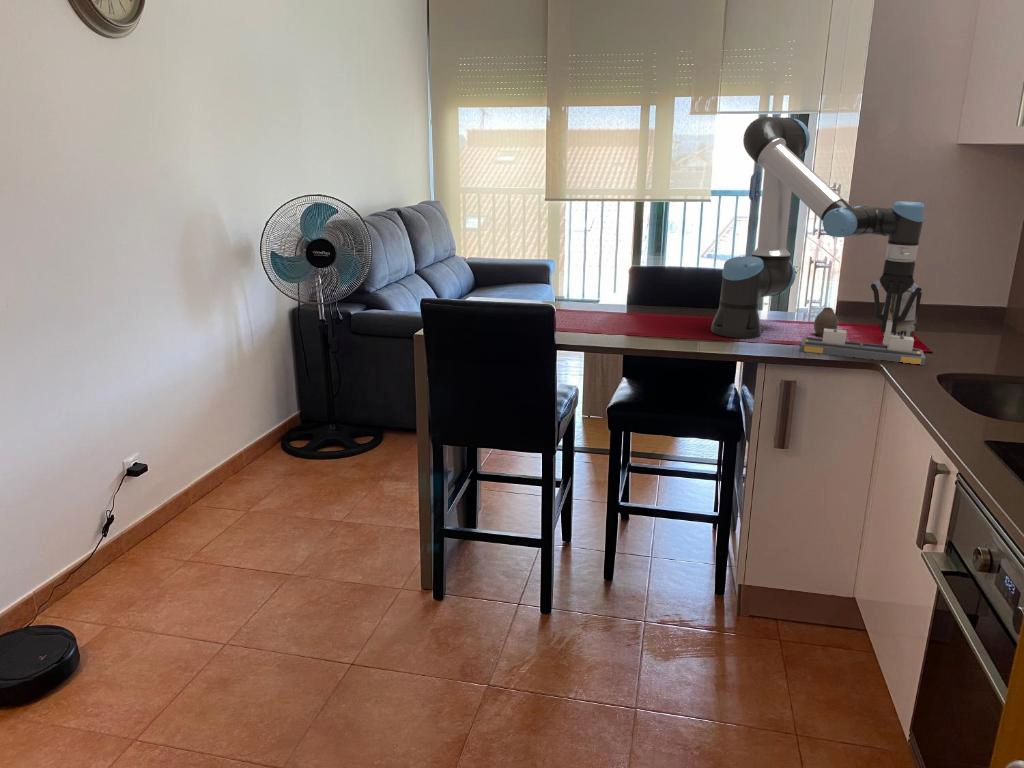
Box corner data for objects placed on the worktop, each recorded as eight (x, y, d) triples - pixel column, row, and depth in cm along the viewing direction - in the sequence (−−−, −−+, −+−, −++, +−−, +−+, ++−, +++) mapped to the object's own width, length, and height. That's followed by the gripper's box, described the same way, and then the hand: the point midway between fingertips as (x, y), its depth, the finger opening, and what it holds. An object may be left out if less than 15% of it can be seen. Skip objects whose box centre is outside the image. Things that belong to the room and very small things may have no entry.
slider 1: (821, 344, 217) (824, 330, 216) (822, 341, 221) (824, 327, 219) (844, 347, 215) (846, 332, 214) (844, 343, 218) (846, 329, 217)
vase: (839, 335, 237) (843, 308, 234) (831, 339, 232) (835, 311, 230) (817, 331, 242) (821, 304, 239) (809, 335, 237) (812, 307, 234)
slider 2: (887, 351, 211) (890, 336, 210) (886, 348, 214) (889, 333, 213) (911, 354, 209) (914, 339, 207) (910, 351, 212) (913, 336, 211)
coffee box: (912, 345, 227) (922, 292, 222) (890, 343, 228) (899, 291, 223) (904, 338, 236) (913, 287, 231) (882, 336, 237) (891, 285, 232)
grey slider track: (800, 351, 217) (801, 342, 216) (801, 343, 226) (803, 335, 225) (924, 365, 205) (926, 356, 204) (920, 356, 214) (922, 347, 213)
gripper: (874, 259, 204) (860, 343, 211) (928, 263, 199) (912, 349, 206) (873, 256, 211) (860, 338, 218) (925, 259, 206) (910, 343, 213)
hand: (885, 343), depth 212 cm, fingers closed
